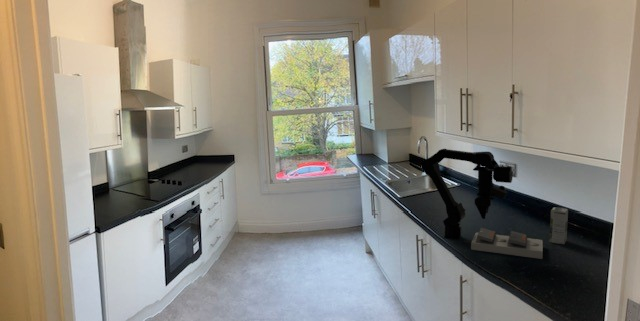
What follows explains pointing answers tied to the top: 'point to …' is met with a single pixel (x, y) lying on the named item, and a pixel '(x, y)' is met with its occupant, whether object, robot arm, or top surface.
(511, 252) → the double rocker switch panel
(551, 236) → the syrup box
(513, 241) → the right rocker
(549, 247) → the top surface
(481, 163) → the robot arm
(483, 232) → the dark grey rectangular block
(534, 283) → the top surface
